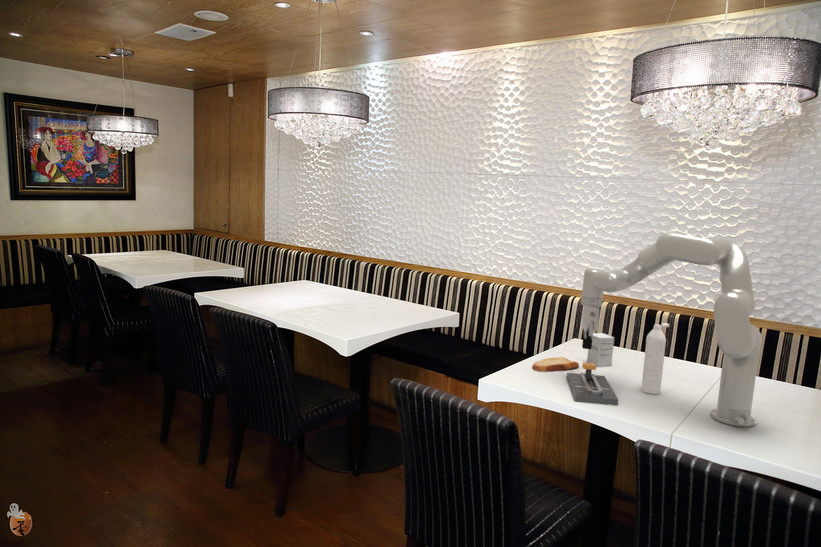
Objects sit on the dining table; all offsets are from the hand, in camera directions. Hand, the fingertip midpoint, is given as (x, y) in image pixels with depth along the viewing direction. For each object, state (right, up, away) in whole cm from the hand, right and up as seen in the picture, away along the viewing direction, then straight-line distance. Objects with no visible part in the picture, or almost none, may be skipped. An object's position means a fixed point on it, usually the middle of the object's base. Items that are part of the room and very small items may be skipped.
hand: (586, 348), depth 215 cm
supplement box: (+12, -10, +23) cm, 28 cm away
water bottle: (+21, -15, -9) cm, 27 cm away
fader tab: (-1, -11, -5) cm, 12 cm away
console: (-2, -14, -11) cm, 18 cm away
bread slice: (-8, -11, +15) cm, 20 cm away
